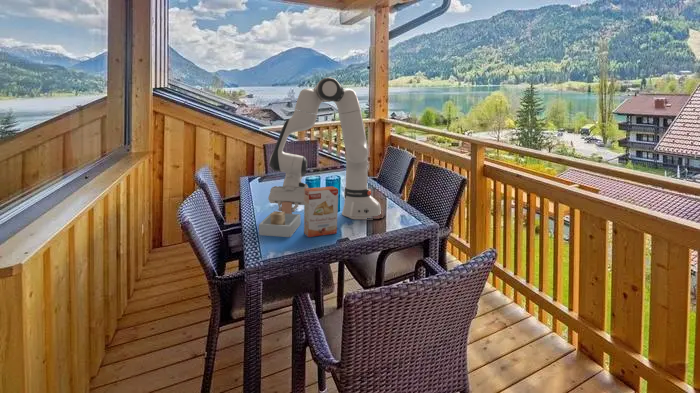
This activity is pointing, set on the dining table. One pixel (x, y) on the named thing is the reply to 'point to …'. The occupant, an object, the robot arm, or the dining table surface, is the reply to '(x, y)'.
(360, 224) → the dining table surface
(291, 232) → the tote
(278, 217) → the beech block
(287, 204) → the brown rounded cylinder
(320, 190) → the cracker box
